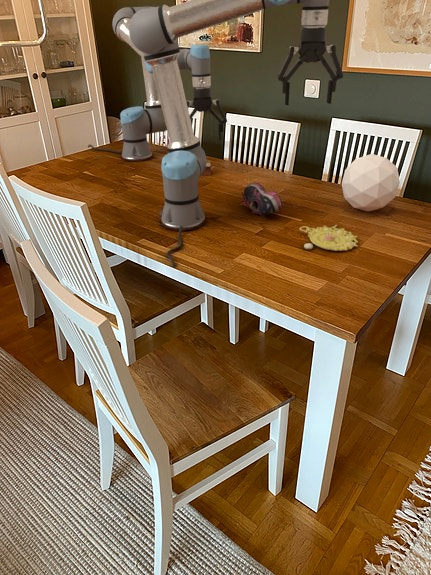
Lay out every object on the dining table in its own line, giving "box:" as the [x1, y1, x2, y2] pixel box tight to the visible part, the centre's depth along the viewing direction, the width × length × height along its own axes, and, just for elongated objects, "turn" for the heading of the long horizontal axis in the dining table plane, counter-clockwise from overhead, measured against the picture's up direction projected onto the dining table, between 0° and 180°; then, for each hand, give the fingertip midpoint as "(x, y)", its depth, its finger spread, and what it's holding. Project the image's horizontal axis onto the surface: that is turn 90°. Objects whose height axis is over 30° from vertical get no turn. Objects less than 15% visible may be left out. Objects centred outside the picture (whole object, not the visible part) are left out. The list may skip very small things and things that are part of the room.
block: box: [200, 162, 212, 177], centre depth 199 cm, size 5×5×4 cm
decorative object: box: [299, 224, 359, 252], centre depth 141 cm, size 21×2×20 cm
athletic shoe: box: [238, 182, 284, 217], centre depth 160 cm, size 11×22×12 cm
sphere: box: [341, 153, 401, 213], centre depth 157 cm, size 19×20×20 cm
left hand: (204, 140), depth 192 cm, fingers open, 13 cm apart
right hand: (307, 103), depth 142 cm, fingers open, 13 cm apart
